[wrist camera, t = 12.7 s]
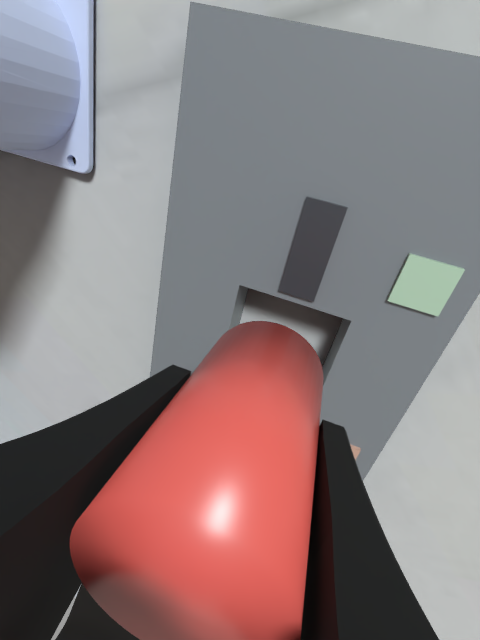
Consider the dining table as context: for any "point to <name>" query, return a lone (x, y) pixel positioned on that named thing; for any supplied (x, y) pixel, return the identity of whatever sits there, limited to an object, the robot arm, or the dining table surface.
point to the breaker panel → (324, 203)
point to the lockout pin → (214, 500)
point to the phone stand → (91, 622)
